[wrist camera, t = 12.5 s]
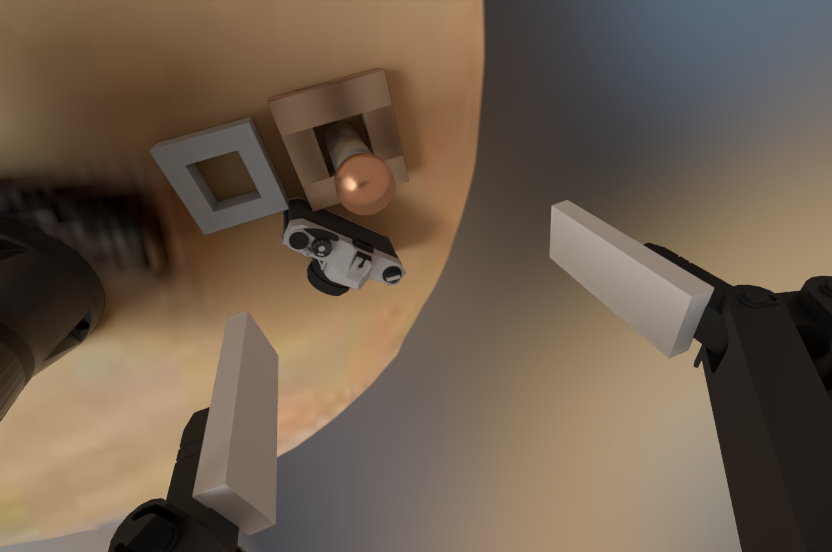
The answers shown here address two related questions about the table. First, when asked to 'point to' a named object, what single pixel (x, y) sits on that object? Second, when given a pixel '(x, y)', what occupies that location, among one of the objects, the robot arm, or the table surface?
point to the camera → (339, 249)
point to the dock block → (329, 105)
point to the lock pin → (358, 172)
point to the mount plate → (193, 189)
